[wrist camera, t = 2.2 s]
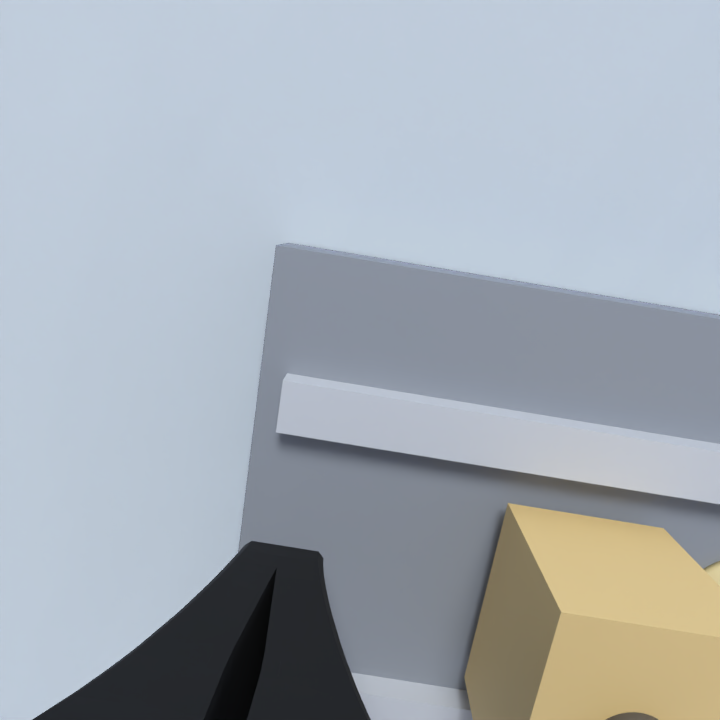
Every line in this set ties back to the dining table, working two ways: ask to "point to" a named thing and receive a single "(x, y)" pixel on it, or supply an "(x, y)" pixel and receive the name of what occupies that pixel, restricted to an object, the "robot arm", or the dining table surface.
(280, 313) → the gauge plate
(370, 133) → the dining table surface
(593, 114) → the dining table surface
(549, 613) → the slider
